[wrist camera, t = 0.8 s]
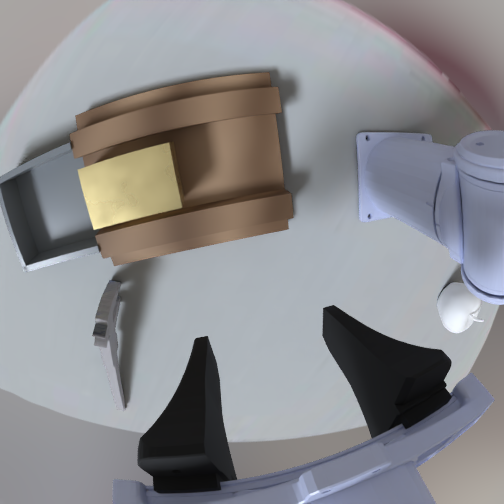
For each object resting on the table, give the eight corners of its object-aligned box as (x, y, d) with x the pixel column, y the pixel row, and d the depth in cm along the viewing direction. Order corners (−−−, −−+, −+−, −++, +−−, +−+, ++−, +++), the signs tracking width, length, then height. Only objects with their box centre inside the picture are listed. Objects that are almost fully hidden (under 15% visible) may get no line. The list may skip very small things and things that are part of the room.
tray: (85, 140, 16) (69, 142, 14) (110, 237, 20) (99, 252, 17) (13, 173, 15) (-6, 180, 13) (39, 257, 19) (24, 272, 16)
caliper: (110, 276, 21) (89, 320, 16) (122, 278, 22) (103, 323, 16) (118, 405, 28) (113, 444, 23) (126, 407, 29) (122, 446, 23)
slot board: (265, 75, 17) (275, 67, 14) (284, 224, 22) (294, 236, 20) (81, 116, 15) (66, 115, 13) (117, 259, 20) (109, 275, 18)
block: (173, 141, 17) (169, 142, 14) (184, 196, 18) (182, 207, 16) (94, 163, 16) (77, 169, 13) (107, 216, 18) (93, 229, 15)
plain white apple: (465, 276, 31) (500, 303, 24) (444, 316, 34) (475, 345, 26) (445, 269, 29) (486, 299, 22) (422, 314, 32) (456, 348, 24)
